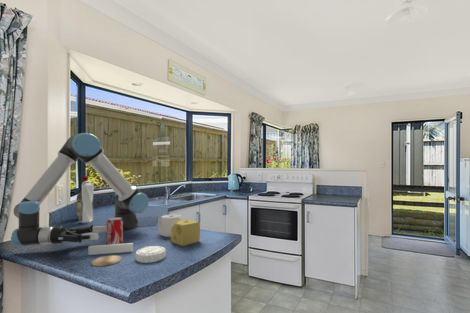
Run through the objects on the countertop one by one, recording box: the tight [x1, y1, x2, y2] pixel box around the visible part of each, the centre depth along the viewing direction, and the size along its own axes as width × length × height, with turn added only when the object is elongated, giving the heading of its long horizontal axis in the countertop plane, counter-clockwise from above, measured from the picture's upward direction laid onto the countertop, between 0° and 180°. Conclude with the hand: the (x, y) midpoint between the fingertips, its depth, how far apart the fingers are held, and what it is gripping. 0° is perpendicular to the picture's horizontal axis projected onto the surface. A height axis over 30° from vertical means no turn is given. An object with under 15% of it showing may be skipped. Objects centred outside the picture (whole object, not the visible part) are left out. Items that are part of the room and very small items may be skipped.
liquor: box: [76, 176, 94, 220], centre depth 195 cm, size 9×9×30 cm
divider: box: [88, 242, 134, 256], centre depth 119 cm, size 18×1×4 cm, turn 101°
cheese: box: [170, 219, 201, 247], centre depth 134 cm, size 10×11×10 cm
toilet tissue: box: [158, 213, 182, 238], centre depth 148 cm, size 11×12×10 cm
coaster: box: [91, 254, 122, 268], centre depth 108 cm, size 11×11×1 cm
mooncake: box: [135, 245, 167, 264], centre depth 112 cm, size 12×12×4 cm
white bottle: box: [78, 180, 95, 224], centre depth 182 cm, size 8×8×28 cm
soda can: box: [106, 216, 124, 245], centre depth 129 cm, size 7×7×13 cm
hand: (102, 232), depth 127 cm, fingers open, 13 cm apart
